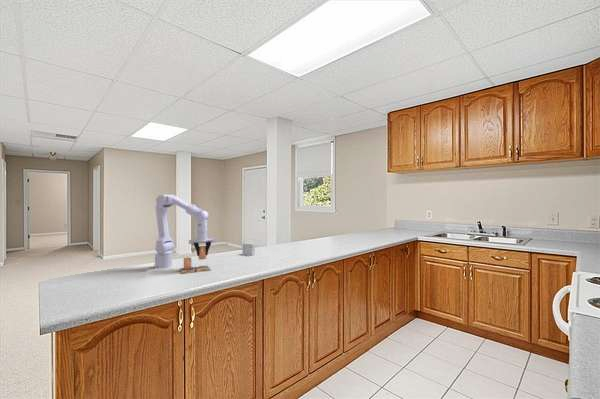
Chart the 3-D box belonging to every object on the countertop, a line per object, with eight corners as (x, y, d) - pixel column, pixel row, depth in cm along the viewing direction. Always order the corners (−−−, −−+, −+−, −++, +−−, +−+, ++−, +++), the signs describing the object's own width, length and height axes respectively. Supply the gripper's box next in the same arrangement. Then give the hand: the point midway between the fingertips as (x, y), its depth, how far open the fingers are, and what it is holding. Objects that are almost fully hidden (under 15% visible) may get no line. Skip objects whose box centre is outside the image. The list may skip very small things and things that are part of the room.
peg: (184, 271, 157) (183, 259, 157) (183, 270, 161) (183, 257, 161) (191, 271, 159) (191, 258, 159) (191, 269, 163) (190, 257, 162)
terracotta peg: (199, 259, 161) (199, 247, 161) (198, 258, 164) (198, 246, 164) (206, 259, 162) (206, 246, 162) (205, 257, 166) (205, 245, 166)
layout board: (180, 276, 153) (180, 272, 153) (179, 270, 163) (179, 267, 163) (211, 272, 160) (211, 268, 160) (208, 267, 171) (208, 264, 171)
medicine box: (254, 254, 207) (254, 242, 207) (252, 256, 203) (251, 243, 203) (245, 254, 210) (245, 242, 210) (242, 255, 205) (242, 243, 205)
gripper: (189, 233, 156) (189, 258, 156) (216, 231, 163) (216, 255, 163) (188, 232, 163) (188, 255, 163) (214, 230, 169) (214, 253, 169)
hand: (202, 255), depth 163 cm, fingers closed on terracotta peg, 4 cm apart
